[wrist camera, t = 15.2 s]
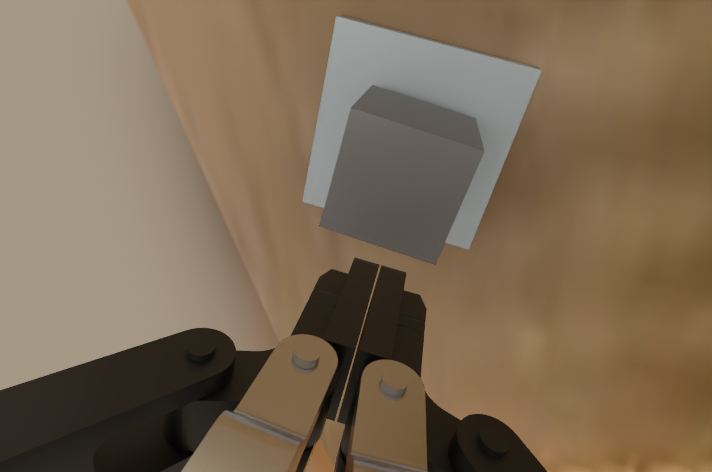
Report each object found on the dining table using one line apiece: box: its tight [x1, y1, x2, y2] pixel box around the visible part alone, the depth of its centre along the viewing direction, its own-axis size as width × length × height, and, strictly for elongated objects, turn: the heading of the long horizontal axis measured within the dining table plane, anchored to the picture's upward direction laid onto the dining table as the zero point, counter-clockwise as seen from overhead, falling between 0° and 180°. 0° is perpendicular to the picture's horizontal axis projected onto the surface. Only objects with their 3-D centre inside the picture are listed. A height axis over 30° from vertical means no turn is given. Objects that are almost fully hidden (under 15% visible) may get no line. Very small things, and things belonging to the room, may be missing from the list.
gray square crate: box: [319, 85, 485, 265], centre depth 22 cm, size 6×6×6 cm
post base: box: [302, 16, 542, 250], centre depth 23 cm, size 11×11×8 cm
